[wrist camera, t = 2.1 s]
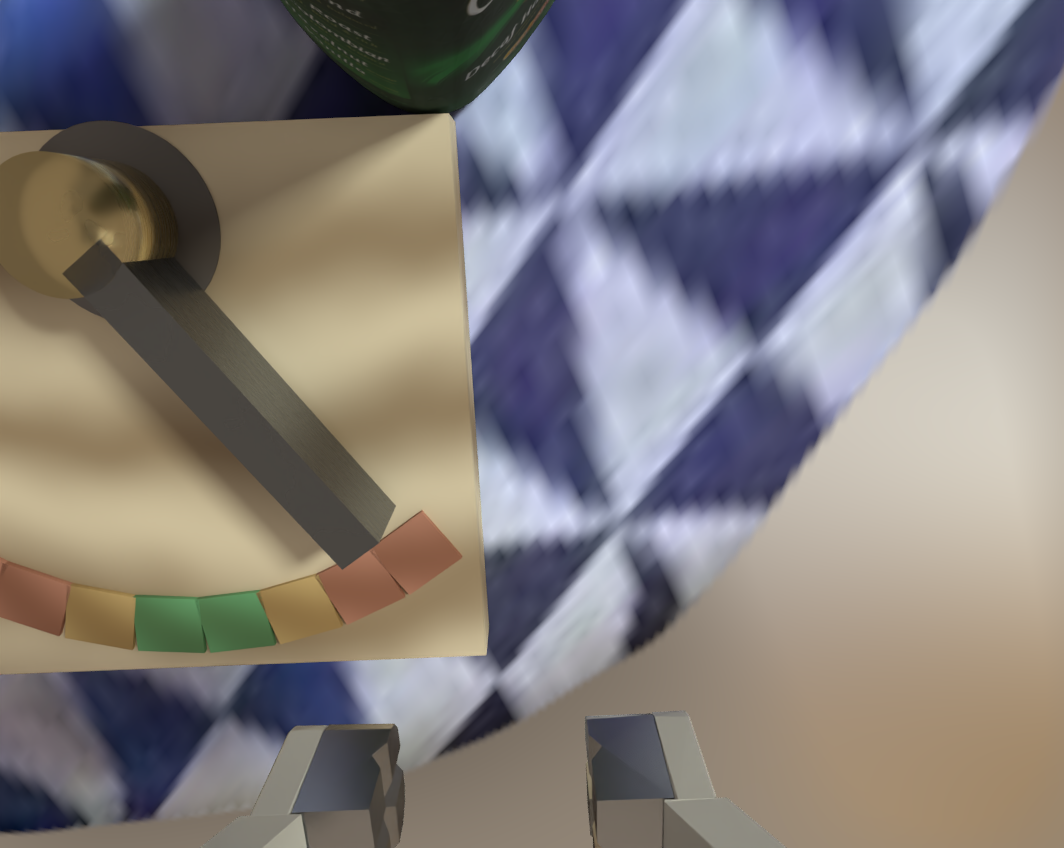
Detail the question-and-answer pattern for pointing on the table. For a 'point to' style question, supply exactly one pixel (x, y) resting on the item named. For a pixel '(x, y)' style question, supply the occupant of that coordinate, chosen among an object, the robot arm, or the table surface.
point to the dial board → (203, 460)
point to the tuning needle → (181, 333)
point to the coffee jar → (421, 44)
